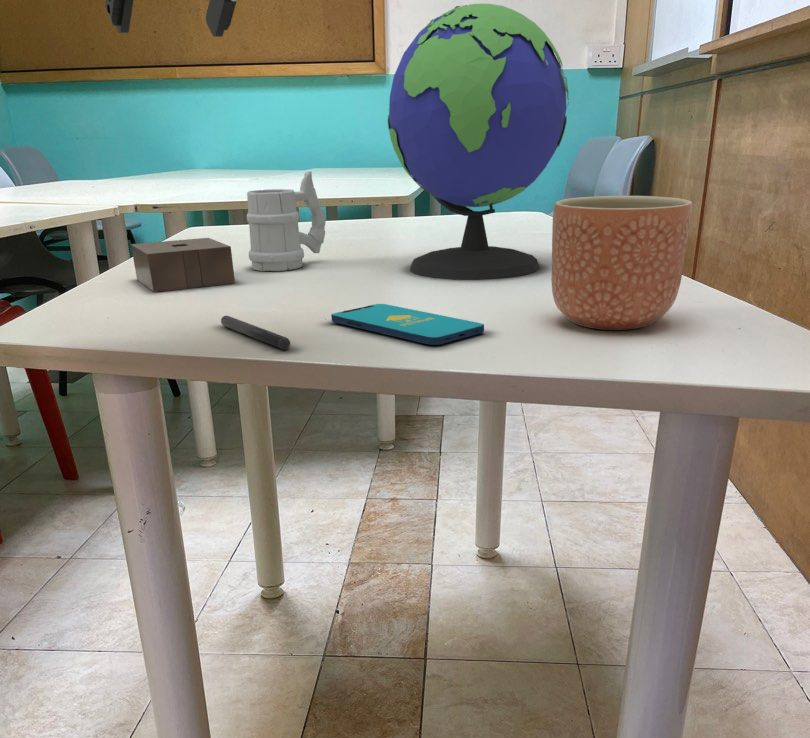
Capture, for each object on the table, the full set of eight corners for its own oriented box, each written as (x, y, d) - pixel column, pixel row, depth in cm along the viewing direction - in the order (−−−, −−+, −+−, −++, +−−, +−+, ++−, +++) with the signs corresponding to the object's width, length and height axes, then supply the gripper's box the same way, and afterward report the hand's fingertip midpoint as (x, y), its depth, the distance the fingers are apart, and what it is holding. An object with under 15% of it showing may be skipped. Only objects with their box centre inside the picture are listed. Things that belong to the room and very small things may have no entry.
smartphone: (434, 337, 72) (327, 312, 81) (434, 346, 72) (327, 321, 82) (488, 324, 76) (380, 302, 86) (488, 332, 76) (381, 310, 86)
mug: (240, 267, 114) (230, 174, 109) (313, 258, 120) (307, 169, 115) (264, 273, 109) (255, 176, 103) (340, 264, 115) (334, 171, 109)
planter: (523, 317, 82) (528, 200, 77) (622, 304, 86) (633, 193, 81) (596, 344, 72) (608, 211, 67) (705, 327, 76) (724, 202, 71)
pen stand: (153, 292, 99) (147, 253, 97) (136, 280, 107) (130, 244, 105) (235, 283, 103) (230, 246, 101) (213, 272, 111) (208, 237, 109)
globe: (369, 280, 103) (356, -3, 89) (417, 253, 122) (413, 17, 108) (545, 285, 97) (561, -17, 83) (567, 256, 116) (584, 6, 102)
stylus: (230, 323, 82) (293, 348, 73) (221, 327, 82) (283, 352, 72) (227, 313, 82) (290, 336, 72) (217, 316, 81) (280, 340, 72)
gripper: (276, -200, 61) (225, -1, 74) (85, -242, 53) (67, -12, 67) (318, -126, 59) (258, 63, 73) (128, -158, 52) (101, 60, 65)
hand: (167, 27), depth 70 cm, fingers open, 8 cm apart
